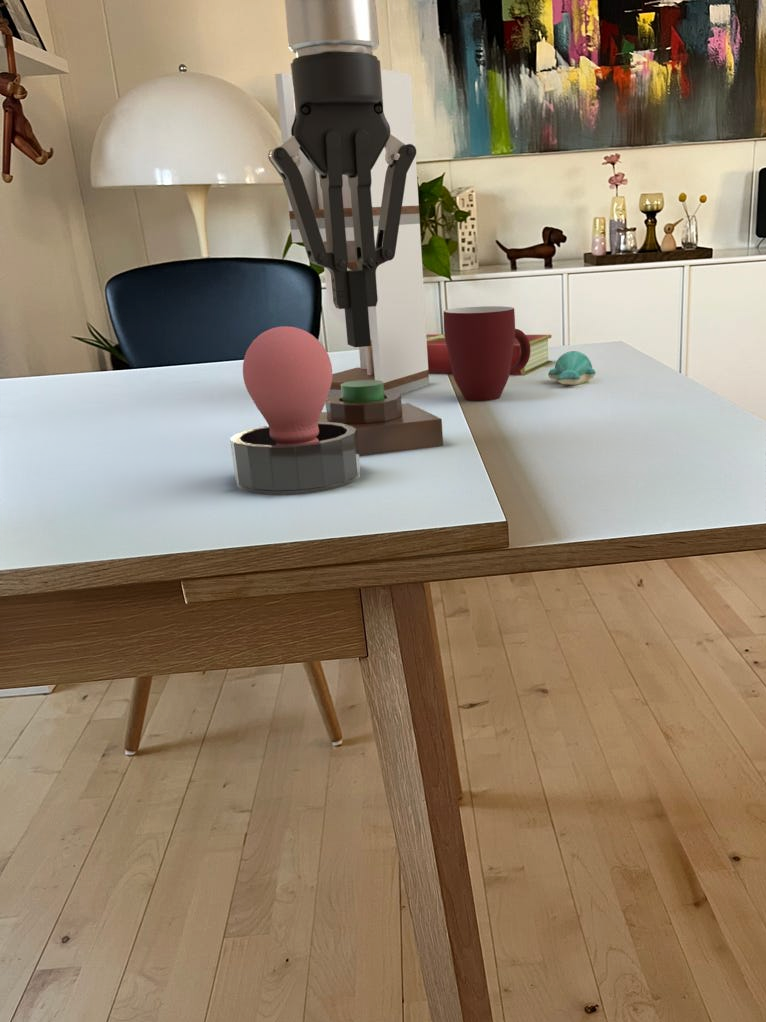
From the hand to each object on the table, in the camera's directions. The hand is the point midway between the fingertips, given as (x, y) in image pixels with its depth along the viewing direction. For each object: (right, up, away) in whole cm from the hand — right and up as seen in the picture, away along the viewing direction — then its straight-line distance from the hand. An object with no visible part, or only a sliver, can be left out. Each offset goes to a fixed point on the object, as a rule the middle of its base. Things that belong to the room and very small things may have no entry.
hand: (359, 345), depth 96 cm
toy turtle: (+22, +4, +32) cm, 39 cm away
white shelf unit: (-3, +3, +33) cm, 34 cm away
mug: (+12, +1, +26) cm, 29 cm away
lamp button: (0, -5, +2) cm, 5 cm away
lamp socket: (-4, -14, -9) cm, 17 cm away
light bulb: (-4, -14, -9) cm, 17 cm away
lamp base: (0, -9, +4) cm, 9 cm away
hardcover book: (+9, +10, +49) cm, 50 cm away
